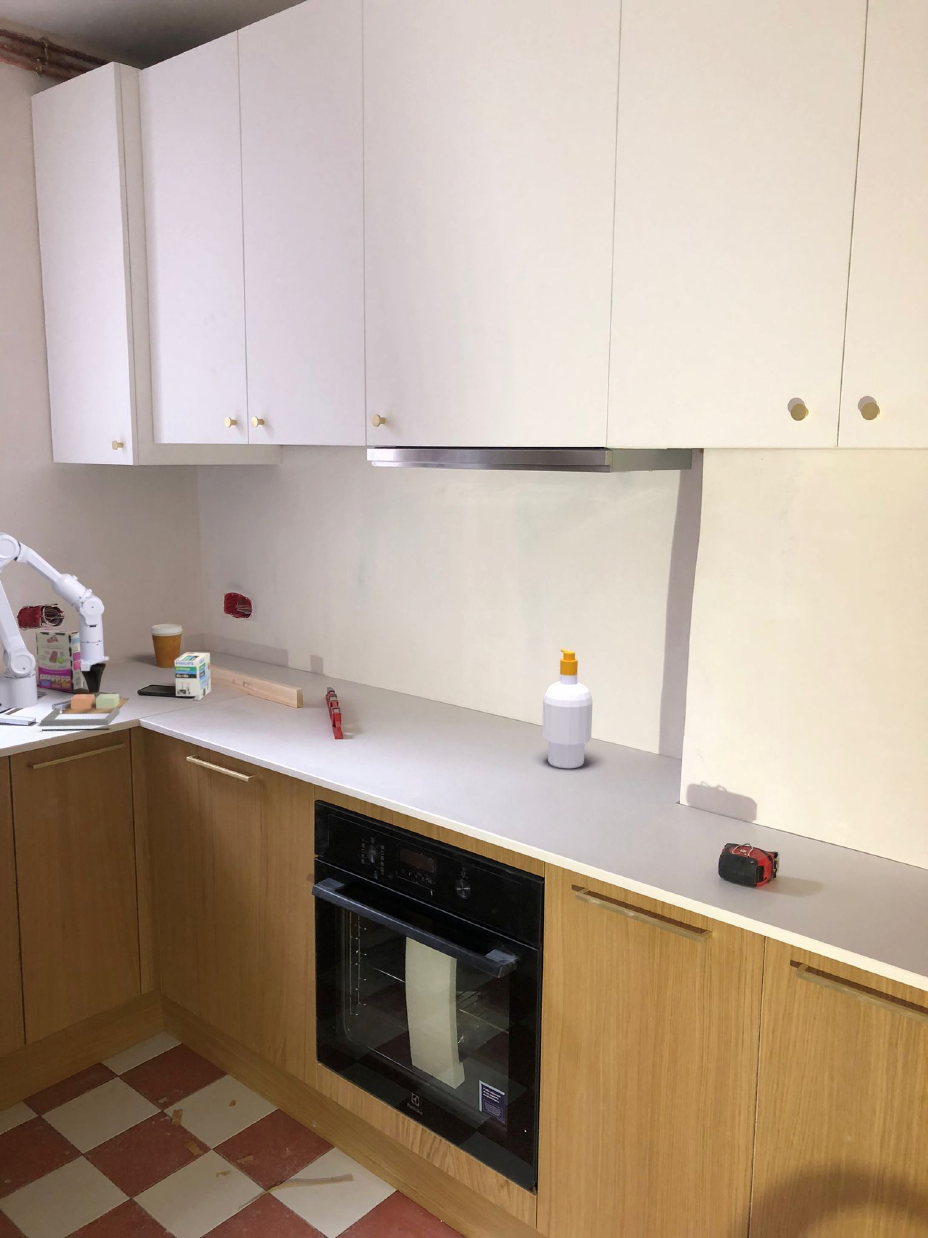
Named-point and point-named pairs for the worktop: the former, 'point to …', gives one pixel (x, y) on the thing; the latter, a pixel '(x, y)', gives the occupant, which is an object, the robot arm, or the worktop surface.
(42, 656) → the candy bar box
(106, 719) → the tray
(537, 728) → the worktop surface
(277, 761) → the worktop surface
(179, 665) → the light bulb box
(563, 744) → the soap bottle
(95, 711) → the walnut board
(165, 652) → the disposable coffee cup
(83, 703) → the terracotta tile
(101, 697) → the sage-green tile
